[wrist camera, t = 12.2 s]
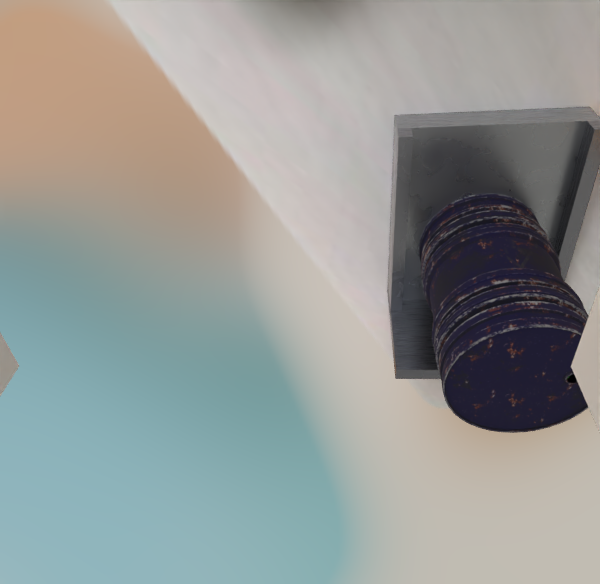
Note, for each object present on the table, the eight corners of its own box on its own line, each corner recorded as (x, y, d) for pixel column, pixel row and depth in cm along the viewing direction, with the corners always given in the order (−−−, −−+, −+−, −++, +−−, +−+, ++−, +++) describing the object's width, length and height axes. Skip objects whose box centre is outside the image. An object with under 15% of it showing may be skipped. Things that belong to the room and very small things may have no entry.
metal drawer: (394, 115, 41) (407, 185, 32) (589, 106, 39) (656, 178, 31) (387, 290, 52) (395, 378, 43) (540, 288, 50) (580, 379, 42)
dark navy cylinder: (423, 299, 49) (447, 440, 37) (409, 205, 43) (432, 337, 31) (541, 282, 47) (605, 425, 35) (544, 180, 41) (621, 313, 29)
